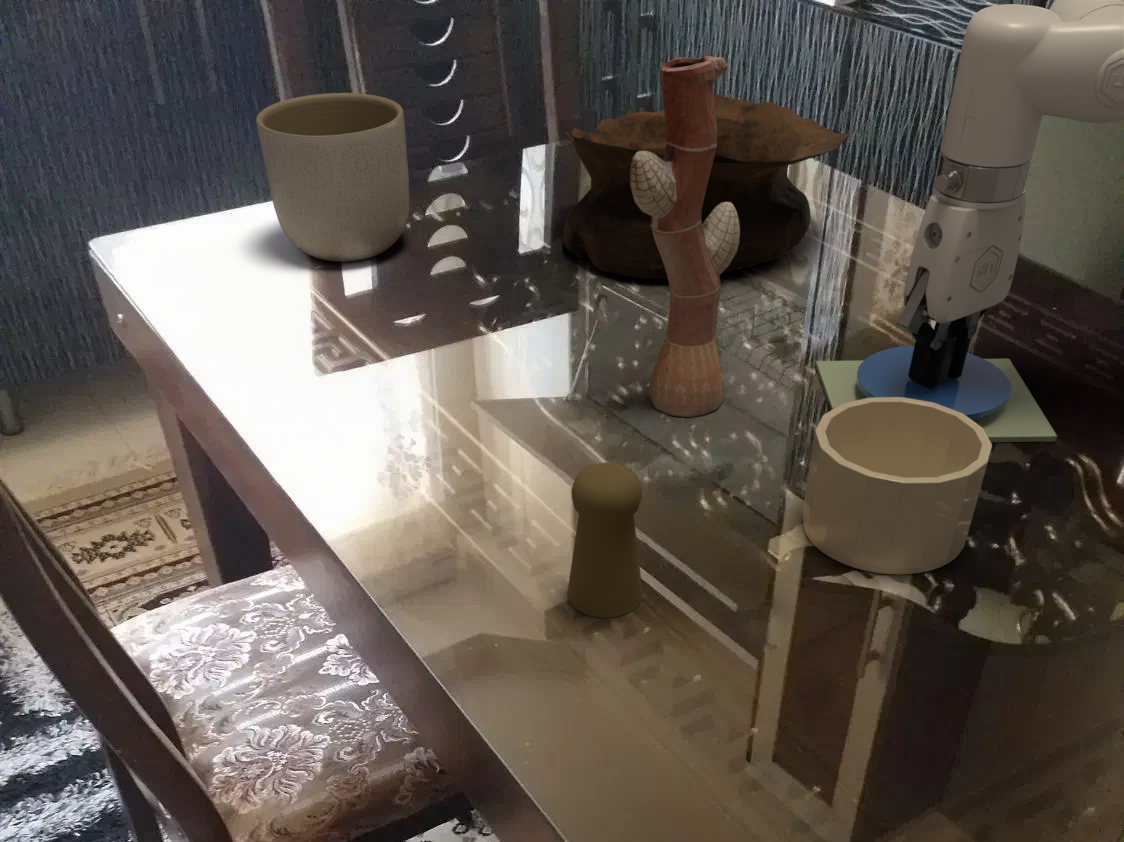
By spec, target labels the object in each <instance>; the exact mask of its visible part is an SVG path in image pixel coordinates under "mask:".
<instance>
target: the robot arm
mask: <svg viewBox="0 0 1124 842" xmlns="http://www.w3.org/2000/svg"><path fill="white" fill-rule="evenodd" d="M1044 116H1049V117H1056V118H1062V119H1069V120H1072V121H1077V122H1084V123H1093V124H1109V123H1116V122H1120V121H1123V120H1124V0H1054V1H1053V2H1052V4H1051V6H1050V7H1049V9H1048V8H1044V7H1041V6H1035V5H1030V4H1029V5H1028V4H1017V3H1016V4H1015V3H1007V4H996V5H990V6H987V7H984V8H982V9H980V10H978V11H977V12H976V13H974V14H973V16H972V17H971V18H970V20H969V22H968V24H967V26H966V28H965V32H964V36H963V40H962V43H961V49H960V55H959V60H958V65H957V70H956V74H955V79H954V83H953V89H952V93H951V99H950V104H949V108H948V114H947V118H946V123H945V127H944V132H943V138H942V141H941V148H940V152H939V157H938V162H937V166H936V172H935V176H934V181H933V186H932V195H930V197H929V200H928V202H927V205H926V208H925V210H924V212H923V216H922V219H921V222H920V224H919V229H918V231H917V235H916V238H915V242H914V245H913V249H912V253H911V256H910V261H909V265H908V268H907V269H908V271H907V274H906V278H905V283H904V284H905V285H904V291H903V305H904V308H903V311H902V312H901V315H900V317H899V319H898V320H897V326H898V327H899V328H901V329H903V330H905V331H907V332H909V333H911V339H912V340H913V341H915V342H914V345H913V346H914V351H913V355H912V360H911V365H910V369H909V374H908V375H909V378H910V379H912V380H914V381H916V382H918V383H920V384H922V385H924V386H926V387H928V388H930V389H932V388H935V387H936V386H937V384H938V381H939V376H940V372H941V368H942V364H943V359H944V355H945V350H946V348H943V347H941V346H942V344H943V341H944V337H945V333H946V330H947V329H949V330H952V331H954V332H956V333H957V335H958V338H957V342H956V346H955V351H954V355H953V359H952V363H951V367H950V371H949V376H950V377H952V378H954V379H957V378H959V377H961V375H962V371H963V367H964V363H965V359H966V355H967V353H968V350H969V347H970V343H971V338H973V337H974V336H975V335H976V333H977V330H978V326H979V321H980V320H981V318H982V317H983V315H984V314H985V313H986V311H987V309H989V308H991V307H994V306H996V305H998V304H1000V303H1001V302H1002V301H1004V300H1005V299H1006V298H1007V297H1008V295H1009V292H1010V290H1011V286H1012V283H1013V280H1014V276H1015V270H1016V267H1017V262H1018V257H1019V253H1020V247H1021V242H1022V236H1023V231H1024V224H1025V217H1026V216H1025V215H1026V204H1027V190H1025V187H1026V183H1027V179H1028V175H1029V171H1030V169H1031V164H1032V160H1033V156H1034V152H1035V148H1036V144H1037V140H1038V136H1039V133H1040V129H1041V125H1042V121H1043V118H1044ZM929 320H931V321H934V322H935V323H934V327H933V326H932V325H931V323H929Z"/></svg>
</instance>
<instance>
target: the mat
mask: <svg viewBox="0 0 1124 842" xmlns="http://www.w3.org/2000/svg"><path fill="white" fill-rule="evenodd" d="M983 359H984V360H986V361H988V362H990V363H992V364H994V365H995V366H997V367H998V368H999V369H1001V370H1002V371H1003V372H1004V373H1005V374H1006V376H1007V377H1008V379H1009V381H1010V383H1011V394H1010V397H1009V399H1008V402H1007V403H1006V404H1005V405H1004V406H1003V407H1002V408H1001V409H1000V410H998V411H996V412H995V413H992V414H990V415H988V416H984V417H981V418H977V419H972V421H974V422H975V423H976V424H978V425H979V426H981V427H982V428H983V429H984V431H985V433H986V434H987V436H988V438H989V440H990V442H991V443H1031V442H1032V443H1044V442H1045V443H1048V442H1051V443H1052V442H1055V443H1056V440H1057V438H1058V435H1057V433H1056V432H1055V430H1054V428H1053V427H1052V425H1051V424H1050V422H1049V421H1048V419H1047V417H1046V415H1045V414H1044V413H1043V410H1042V409H1041V407H1040V406H1039V404H1038V403H1037V402H1036V399H1035V398H1034V397H1033V395H1032V393H1031V391H1030V390H1029V388H1028V386H1027V385H1026V384H1025V382H1024V380H1023V378H1022V377H1021V375H1020V373H1018V370H1017V369H1016V367H1015V366H1014V364H1013V363H1012V361H1011V359H1010V358H983ZM864 360H865V359H863V360H816V361H815V366H814V367H815V371H816V372H817V376H818V378H819V381H820V384H821V387H822V390H823V392H824V393H823V394H824V396H825V398H826V401H827V405H828V407H829V409H830V410H829V411H831V410H832V409H834V408H836V407H837V406H839V405H841V404H843V403H847V402H852V401H856V400H861V399H865V398H867V397H866V396H865V395H864V394H863V393H862V391H861V390H860V389H859V387H858V384H857V371H858V368H859V366H860V364H861V363H862V362H863V361H864Z"/></svg>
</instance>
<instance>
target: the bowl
mask: <svg viewBox="0 0 1124 842" xmlns="http://www.w3.org/2000/svg"><path fill="white" fill-rule="evenodd" d="M714 104H715V115H716V126H717V148H716V152H715V156H714V160H713V164H712V168H711V172H710V176H709V180H708V184H707V188H706V192H705V197H704V201H703V206H702V212H701V221H702V224H703V223H704V221H705V220H706V218H707V217H708V216H709V214H710V213H711V212H712V211H713V210H714V209H715V207H717V206H718V205H719V204H720V203H723V202H731V203H732V204H733V206H734V207H735V209H736V211H737V215H738V219H739V225H740V238H739V245H738V249H737V252H736V254H735V256H734V258H733V259H732V261H731V263H730V264H729V266H728V267H727V268H726V269H725V270H724V271H723V272H722V273H721V274H723V273H728V272H732V271H736V270H740V269H745V268H750V267H753V266H756V265H758V264H761V263H765V262H768V261H774V260H777V259H780V258H782V257H783V256H785V254H787V253H789V252H790V251H791V250H793V249H794V248H796V247H797V246H799V244H801V242H802V241H803V239H804V238H805V237H806V234H807V233H808V231H809V229H810V225H811V218H812V217H811V207H810V202H809V199H808V198H807V195H806V193H804V192H802V191H801V190H800V189H799V188H798V187H797V186H795V185H794V184H793V183H792V181H791V180H790V178H789V176H788V172H789V166H790V165H795V164H798V163H801V162H804V161H807V160H809V159H813V158H817V157H820V156H822V155H825V154H828V153H830V152H832V151H834V150H837V149H840V148H841V146H842V143H843V142H844V141H845V140H846V139H847V138H848V137H849V136H850V135H851V134H850V132H847V133H846V132H845V133H838V132H834V130H833V129H831V128H827V127H825V126H823V125H821V124H819V123H818V122H817V121H816V120H815V119H812V118H803V116H801V115H799V114H798V113H796V112H795V111H794V110H792V109H791V108H789V107H787V106H781V105H778V104H777V103H774V102H770V101H762V102H751V101H748V100H743V99H739V98H732V97H728V96H724V95H720V94H718V93H714ZM570 132H571V135H570V133H569V132H568V131H565V133H566V135H567V137H568V138H569V140H570V142H571V143H572V145H573V148H574V150H575V152H576V155H577V156H578V158H579V159H580V161H581V162H582V164H583V166H584V168H585V170H586V172H587V174H588V176H589V178H590V189H589V190H588V191H587V192H586V193H585V195H584V196H583V197H582V198H581V199H580V200H579V202H578V203H577V204H576V205H574V206H573V207H572V208H571V209H569V211H568V212H567V213H566V215H565V218H564V223H563V227H562V240H563V244H564V247H565V248H566V249H567V250H568V252H569V253H571V254H573V255H574V256H576V257H578V258H586V257H588V259H589V260H590V262H592V264H593V266H594V267H596V268H597V269H599V270H601V271H602V272H607V273H612V274H613V273H614V274H616V275H619V276H626V277H629V278H635V279H636V278H637V279H642V280H668V276H667V273H666V269H665V266H664V263H663V260H662V257H661V255H660V252H659V250H658V247H657V245H656V242H655V239H654V235H653V232H652V228H651V224H650V223H651V216H650V215H648V214H646V213H645V212H643V211H641V209H640V208H639V207H638V205H637V204H636V203H635V200H634V197H633V194H632V189H631V185H630V171H631V163H632V159H633V156H634V155H635V154H636V153H637V152H638V151H649V152H652V153H654V154H655V155H657V156H658V157H659V158H661V159H663V157H664V155H665V148H666V121H665V114H664V109H663V110H659V111H658V110H657V111H654V112H651V111H642V112H640V111H637V112H631V113H627V114H622V115H620V116H618V117H617V118H615V119H614V118H605V119H601V121H600V123H599V124H598V126H597V127H596V129H595V131H592V132H588V131H585V130H582V129H579V128H577V127H573V129H572V130H570Z"/></svg>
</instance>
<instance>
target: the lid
mask: <svg viewBox="0 0 1124 842" xmlns="http://www.w3.org/2000/svg"><path fill="white" fill-rule="evenodd" d="M957 338H958V335H957V333H956V332H954V331H952V330H949V329H948V328H947V330H946V333H945V337H944V341H943V344H942V346H941V347H943V348H946V350H945V355H944V359H943V364H942V368H941V372H940V376H939V381H938V384H937V386H936V387H935V388H932V389H930V388H928V387H926V386H924V385H922V384H920V383H918V382H916V381H914V380H912V379H910V378H909V375H908V374H909V369H910V365H911V360H912V355H913V351H914V346H915V345H904V346H896V347H890V348H887V349H882V350H880V351H876V352H875V353H873V354H870V355H869V356H868V357H866V358H865V359H863V360H864V361H863V362H862V363H861V364H860V366H859V368H858V371H857V384H858V387H859V389H860V390H861V391H862V393H863V394H864V395H865V396H866V397H867V398H871V397H901V398H902V397H904V398H910V399H916V400H922V401H928V402H933V403H937V404H939V405H942V406H944V407H947V408H950V409H952V410H955V411H958V412H960V413H962V414H964V415H965V416H967V417H968V418H970V419H971V420H972V419H977V418H981V417H984V416H988V415H990V414H992V413H995V412H996V411H998V410H1000V409H1001V408H1002V407H1003V406H1004V405H1005V404H1006V403H1007V402H1008V399H1009V397H1010V394H1011V383H1010V381H1009V379H1008V377H1007V376H1006V374H1005V373H1004V372H1003V371H1002V370H1001V369H999V368H998V367H997V366H995V365H994V364H992V363H990V362H988V361H986V360H984V359H985V358H983V357H980V356H978V355H975V354H972V353H969V352H967V355H966V359H965V363H964V367H963V371H962V375H961V377H959V378H957V379H954V378H952V377H950V376H949V371H950V367H951V363H952V359H953V355H954V351H955V346H956V342H957Z"/></svg>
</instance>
